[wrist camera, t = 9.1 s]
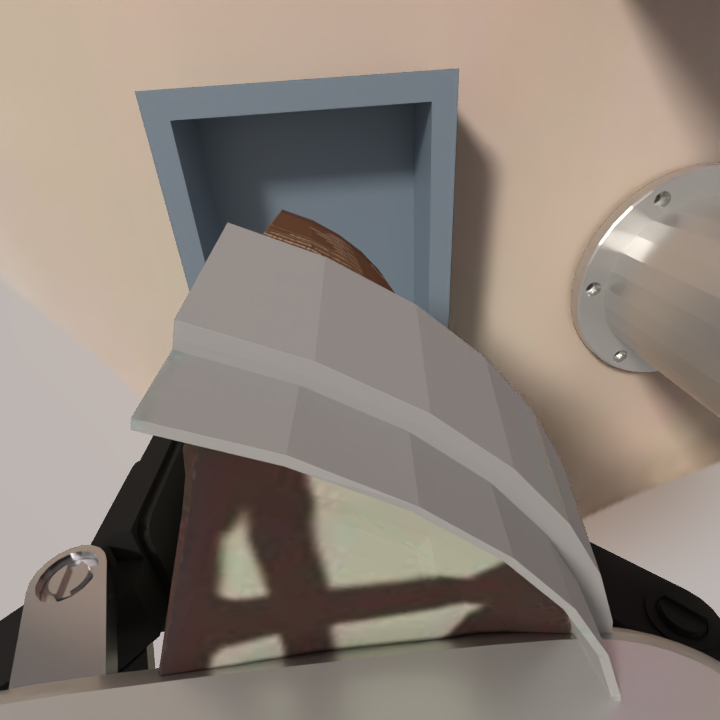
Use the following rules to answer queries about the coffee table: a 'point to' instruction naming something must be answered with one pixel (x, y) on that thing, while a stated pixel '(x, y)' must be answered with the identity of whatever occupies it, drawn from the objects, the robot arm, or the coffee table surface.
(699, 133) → the coffee table surface
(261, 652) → the latticed semicircular wedge
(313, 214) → the bin
